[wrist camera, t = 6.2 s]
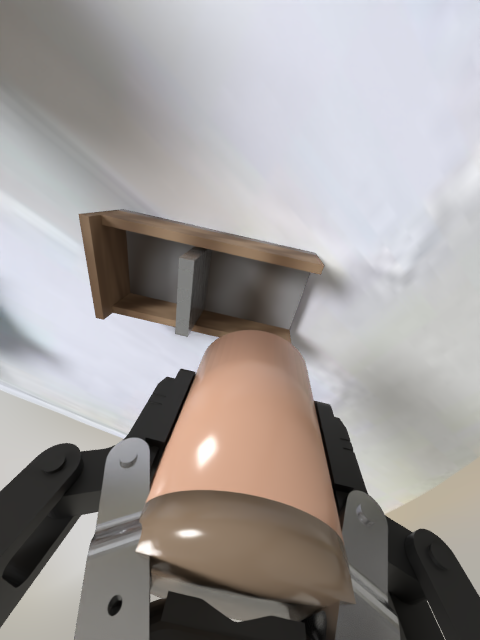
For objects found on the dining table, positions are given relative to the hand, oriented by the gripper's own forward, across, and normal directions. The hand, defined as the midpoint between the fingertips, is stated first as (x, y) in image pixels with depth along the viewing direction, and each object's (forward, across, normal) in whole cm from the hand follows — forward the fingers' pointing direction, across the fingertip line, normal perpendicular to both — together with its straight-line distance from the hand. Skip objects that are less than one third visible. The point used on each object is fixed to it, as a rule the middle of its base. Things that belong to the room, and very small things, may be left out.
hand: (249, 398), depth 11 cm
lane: (+16, +6, 0) cm, 17 cm away
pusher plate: (+15, +6, 0) cm, 16 cm away
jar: (+2, 0, 0) cm, 2 cm away
